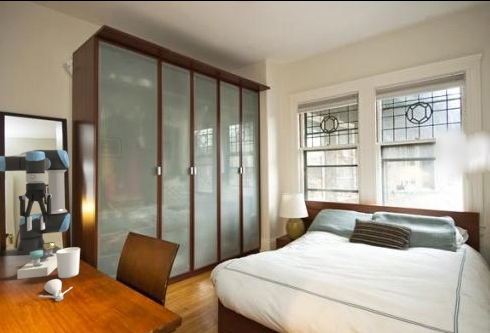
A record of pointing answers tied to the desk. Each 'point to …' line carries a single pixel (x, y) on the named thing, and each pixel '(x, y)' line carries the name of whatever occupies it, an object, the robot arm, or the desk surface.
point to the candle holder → (68, 262)
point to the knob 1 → (36, 257)
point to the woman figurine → (54, 289)
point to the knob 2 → (49, 247)
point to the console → (38, 268)
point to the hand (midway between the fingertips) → (36, 229)
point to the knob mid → (45, 256)
